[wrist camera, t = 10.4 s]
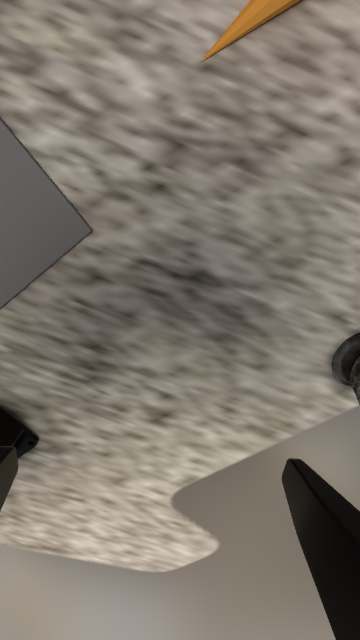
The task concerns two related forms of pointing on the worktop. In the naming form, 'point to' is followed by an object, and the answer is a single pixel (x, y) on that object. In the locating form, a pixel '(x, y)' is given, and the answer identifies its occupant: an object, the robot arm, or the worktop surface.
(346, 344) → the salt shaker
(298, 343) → the worktop surface
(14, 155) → the mat
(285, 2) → the carrot
